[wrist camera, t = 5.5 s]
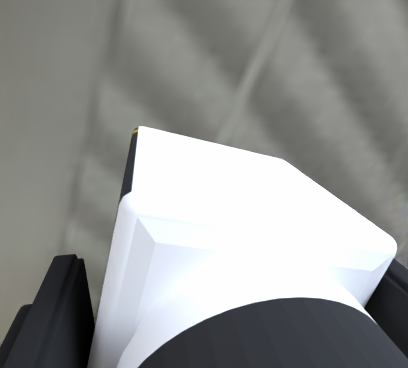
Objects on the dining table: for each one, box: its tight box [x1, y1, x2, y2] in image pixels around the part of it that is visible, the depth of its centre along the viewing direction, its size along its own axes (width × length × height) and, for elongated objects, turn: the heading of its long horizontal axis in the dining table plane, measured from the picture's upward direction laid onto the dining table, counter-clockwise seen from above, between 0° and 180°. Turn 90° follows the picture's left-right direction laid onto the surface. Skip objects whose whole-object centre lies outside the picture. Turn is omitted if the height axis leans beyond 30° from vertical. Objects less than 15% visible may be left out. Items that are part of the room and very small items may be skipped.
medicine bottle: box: [87, 126, 408, 368], centre depth 9 cm, size 7×7×12 cm
